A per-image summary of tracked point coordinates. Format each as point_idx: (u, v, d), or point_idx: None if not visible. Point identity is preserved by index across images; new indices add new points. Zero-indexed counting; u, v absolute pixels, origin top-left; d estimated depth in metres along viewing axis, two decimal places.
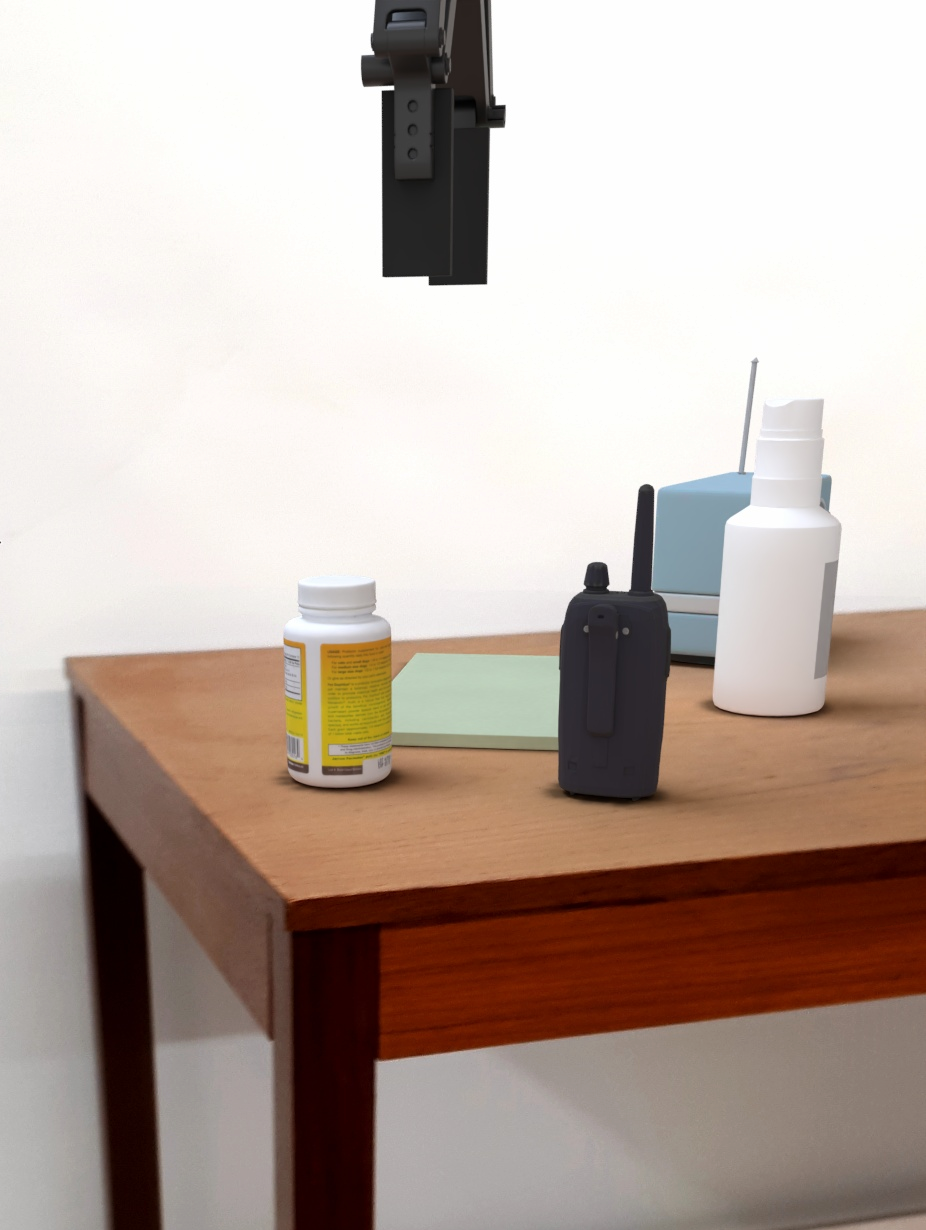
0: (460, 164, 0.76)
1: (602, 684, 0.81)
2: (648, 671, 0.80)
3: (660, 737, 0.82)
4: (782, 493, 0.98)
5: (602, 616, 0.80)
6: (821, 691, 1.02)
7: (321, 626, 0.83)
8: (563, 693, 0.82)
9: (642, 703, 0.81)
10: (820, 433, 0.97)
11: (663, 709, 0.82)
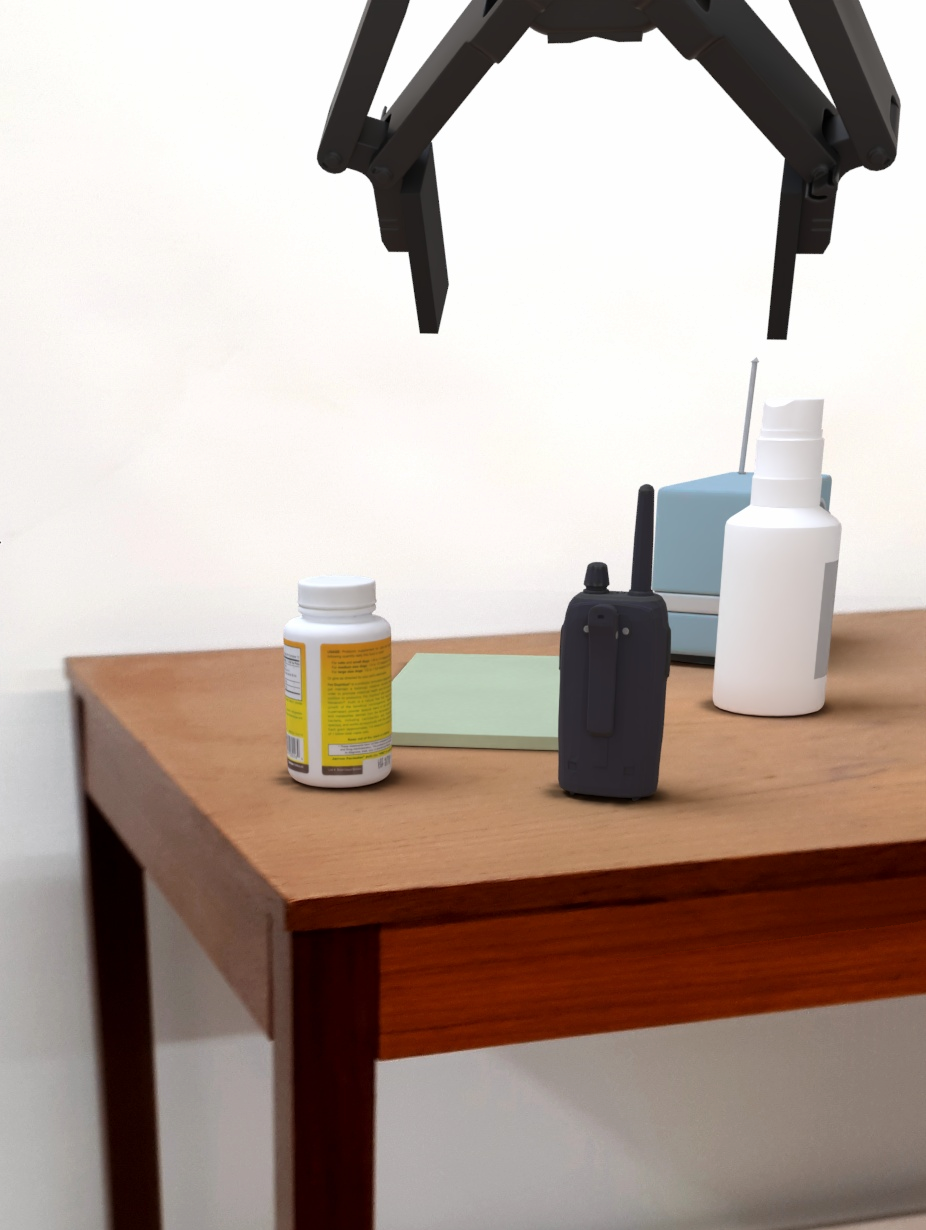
0: (431, 200, 0.63)
1: (602, 684, 0.81)
2: (648, 671, 0.80)
3: (660, 737, 0.82)
4: (782, 493, 0.98)
5: (602, 616, 0.80)
6: (821, 691, 1.02)
7: (321, 626, 0.83)
8: (563, 693, 0.82)
9: (642, 703, 0.81)
10: (820, 433, 0.97)
11: (663, 709, 0.82)
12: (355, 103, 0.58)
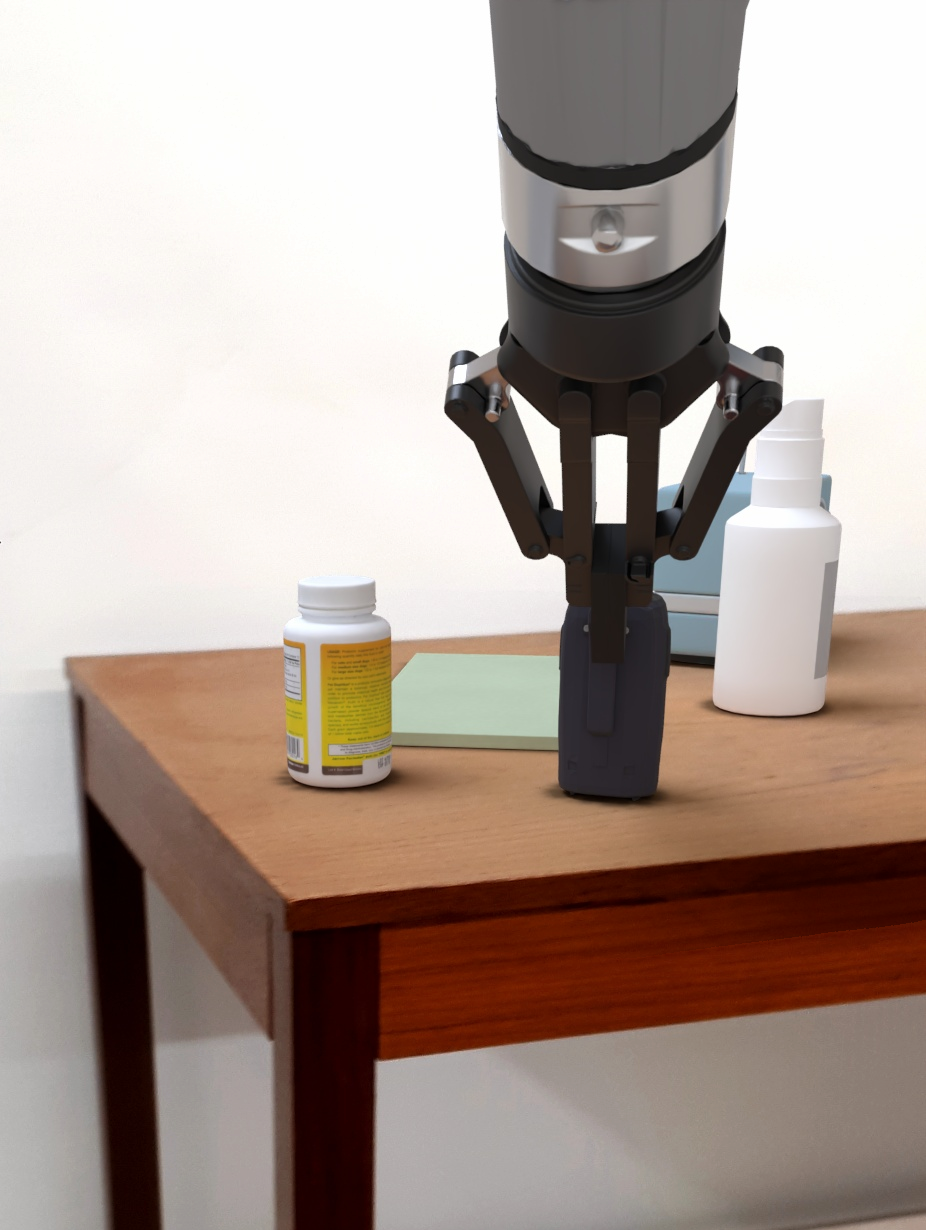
0: None
1: (602, 684, 0.81)
2: (648, 670, 0.80)
3: (660, 737, 0.82)
4: (782, 493, 0.98)
5: None
6: (821, 691, 1.02)
7: (320, 626, 0.83)
8: (562, 693, 0.82)
9: (642, 703, 0.81)
10: (820, 433, 0.97)
11: (663, 709, 0.82)
12: (520, 512, 0.69)
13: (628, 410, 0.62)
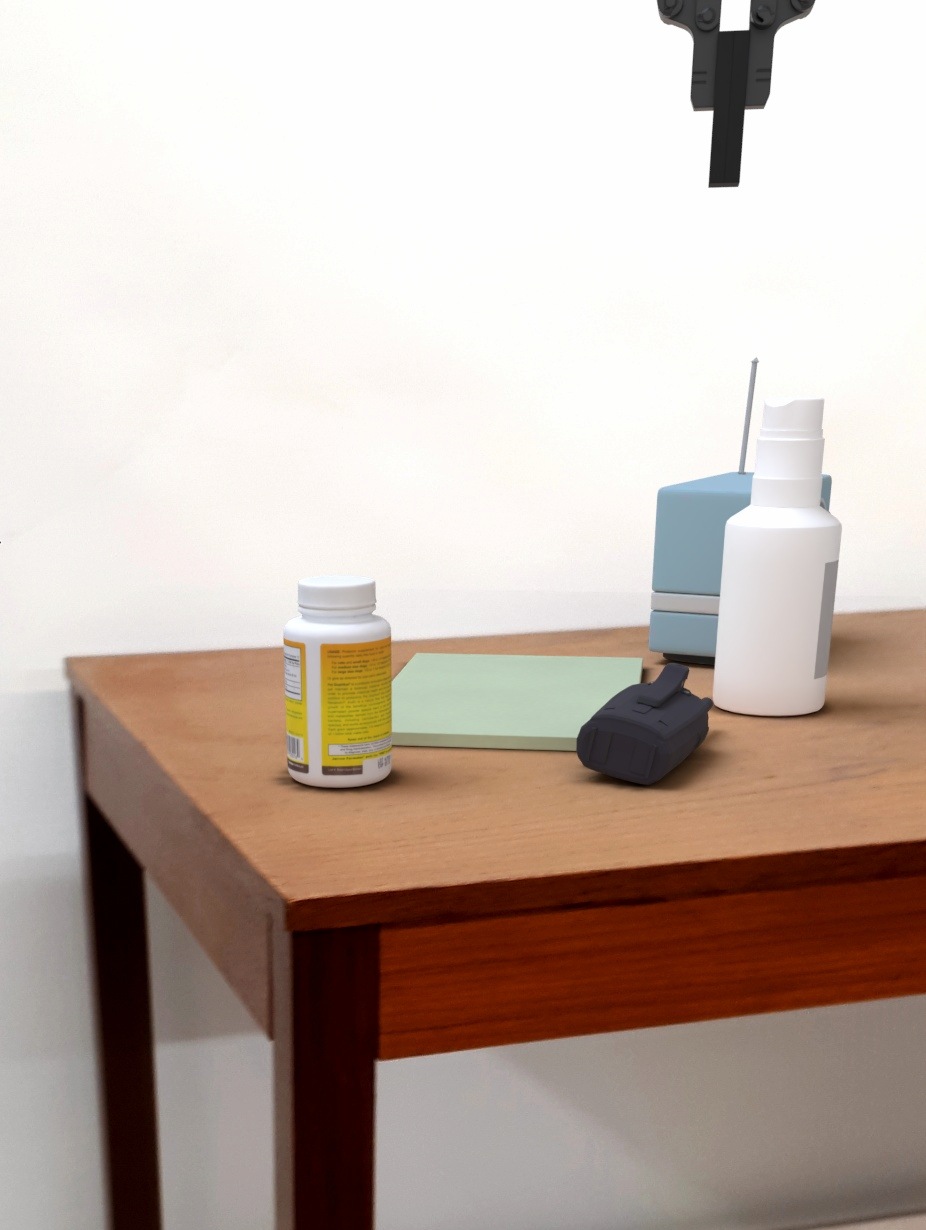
0: None
1: (661, 688, 0.89)
2: (696, 711, 0.90)
3: (684, 747, 0.87)
4: (782, 493, 0.98)
5: None
6: (821, 691, 1.02)
7: (320, 626, 0.83)
8: (614, 696, 0.90)
9: (686, 715, 0.88)
10: (820, 433, 0.97)
11: (691, 744, 0.88)
12: None
13: None
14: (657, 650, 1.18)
